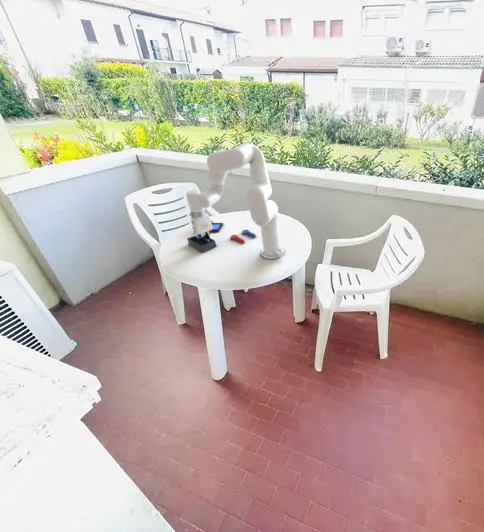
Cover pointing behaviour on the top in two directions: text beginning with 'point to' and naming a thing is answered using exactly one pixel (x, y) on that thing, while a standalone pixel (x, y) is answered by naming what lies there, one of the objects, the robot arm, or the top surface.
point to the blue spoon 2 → (248, 233)
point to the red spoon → (237, 238)
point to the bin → (201, 244)
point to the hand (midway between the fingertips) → (206, 241)
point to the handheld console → (216, 226)
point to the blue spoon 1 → (200, 239)
